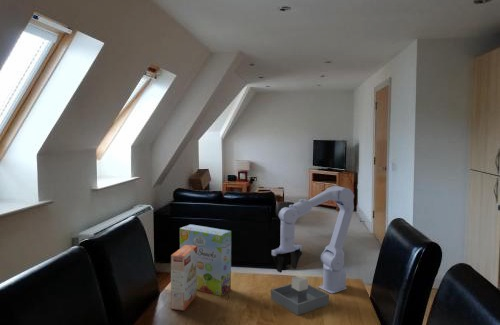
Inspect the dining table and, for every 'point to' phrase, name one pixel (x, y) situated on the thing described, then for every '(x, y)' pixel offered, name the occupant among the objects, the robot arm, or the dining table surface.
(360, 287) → the dining table surface
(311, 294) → the tote
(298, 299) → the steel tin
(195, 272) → the cracker box
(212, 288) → the snack box
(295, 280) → the white cube
